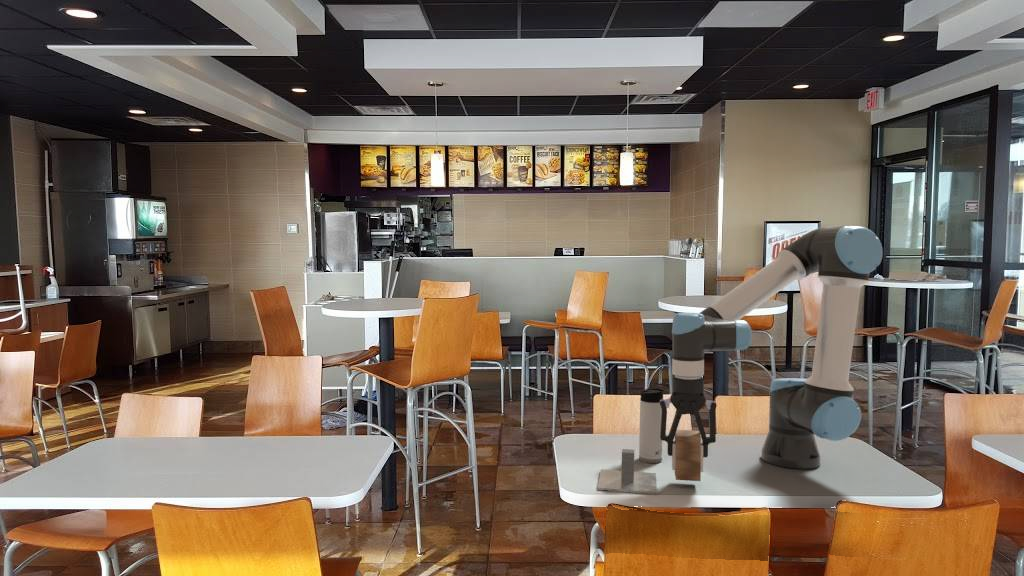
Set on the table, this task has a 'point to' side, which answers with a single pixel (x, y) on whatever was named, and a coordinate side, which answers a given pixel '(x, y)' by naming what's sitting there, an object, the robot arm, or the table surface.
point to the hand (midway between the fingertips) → (687, 468)
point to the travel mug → (650, 425)
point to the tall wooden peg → (688, 455)
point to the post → (627, 477)
